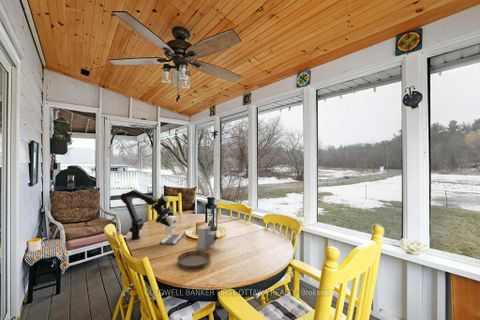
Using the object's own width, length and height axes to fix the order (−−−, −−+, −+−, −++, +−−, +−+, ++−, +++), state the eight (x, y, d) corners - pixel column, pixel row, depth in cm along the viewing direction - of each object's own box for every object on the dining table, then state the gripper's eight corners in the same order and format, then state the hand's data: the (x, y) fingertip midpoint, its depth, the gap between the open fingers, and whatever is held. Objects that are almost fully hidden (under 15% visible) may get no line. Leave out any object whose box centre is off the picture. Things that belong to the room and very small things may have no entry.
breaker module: (164, 233, 168) (165, 217, 169) (169, 231, 175) (170, 215, 175) (172, 235, 167) (173, 218, 167) (176, 232, 173) (177, 216, 174)
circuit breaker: (215, 250, 154) (215, 229, 155) (196, 248, 157) (196, 228, 158) (218, 246, 162) (218, 226, 162) (200, 245, 165) (200, 225, 165)
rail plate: (159, 244, 165) (159, 241, 165) (170, 235, 185) (170, 232, 185) (174, 244, 164) (174, 241, 164) (183, 236, 184) (183, 233, 184)
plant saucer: (212, 268, 129) (212, 262, 129) (177, 272, 123) (177, 266, 123) (208, 254, 149) (208, 249, 149) (177, 257, 143) (177, 252, 143)
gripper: (159, 205, 163) (172, 221, 160) (172, 201, 181) (184, 215, 178) (150, 215, 164) (162, 230, 162) (163, 210, 183) (175, 224, 180)
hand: (171, 224), depth 170 cm, fingers closed on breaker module, 7 cm apart
